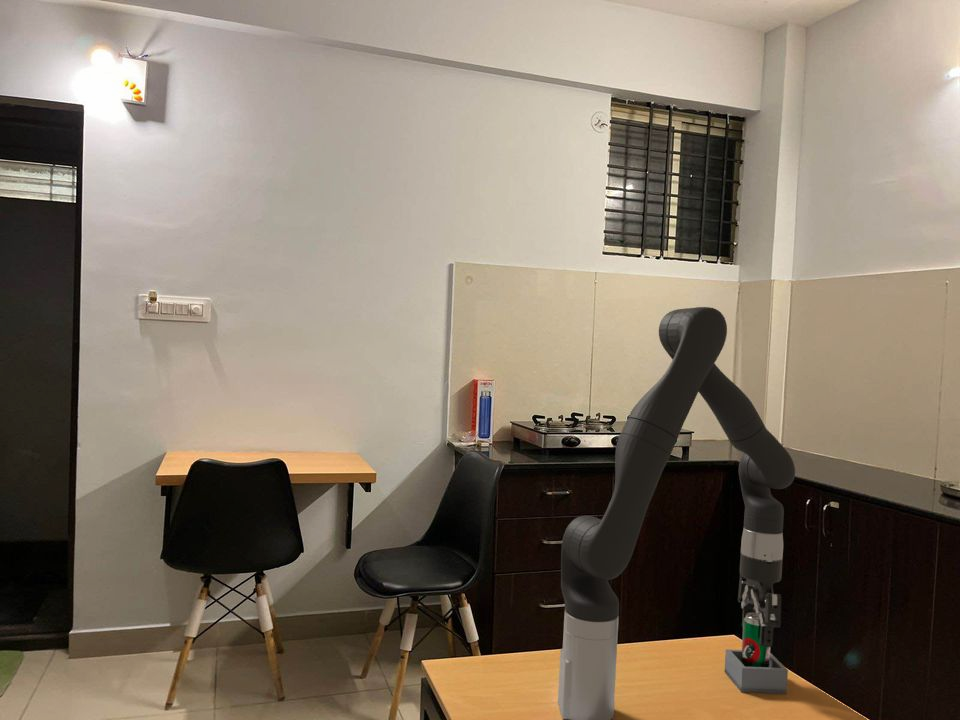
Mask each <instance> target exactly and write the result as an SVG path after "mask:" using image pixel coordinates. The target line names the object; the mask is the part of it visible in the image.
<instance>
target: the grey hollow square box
mask: <svg viewBox="0 0 960 720" xmlns="http://www.w3.org/2000/svg"><path fill="white" fill-rule="evenodd" d="M741 655H742V649H730V648H729V649H728V648H727V649H726V648H725V655H724V656H725V657H724V658H725V659H724V673H725V674H726V675H727V677H728V678H729V679H730V680H731V682H732V683H733V684H734V685H735V686H737V687H736V688H737V689H738V690H739V692H741V693H750V692H751V694H753V693H755V694H756V693H757V694H776V695H778V694H781V695H787V693H788V678H789V677H788V674H789V670H788V669H787V667H786V666H784V664H782V662H780V661H779V660H778V658H777V657H776V656H774V655H773V653H771V652H770V660H769V667H745V666H744V665H743V664H742V663H741Z"/></svg>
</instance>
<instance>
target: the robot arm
mask: <svg viewBox="0 0 960 720" xmlns="http://www.w3.org/2000/svg"><path fill="white" fill-rule="evenodd" d="M727 335H728V325H727V321H726V318H725V316H724V315H723V313H722V312H721V311H719V309H716V308H715V307H709V306H696V307H690V308H689V307H688V308H687V307H686V308H679V309H678V308H677V309H674V310H671V311H668V312H667V313H666V314H665V315H664V316H663V317H662V319H661V320H660V323H659V327H658V338H659V341H660V343H661V346H662V347H663V349H664V350H665V352H666V353H667V354H668V356H669V357H670V358H671V363H670V365H669V366H668V368H667V370H666V371H665V373H664V374H663V375H662V376H661V378H660V379H659V380H658V381H657V382H656V383H655V384H654V385H653V386H652V387H651V388H650V389H649V390H648V391H647V392H646V393H645V394H644V395H643V396H642V397H640V399H639V400H638V402H637V403H636V404H635V405H634V407H633V408H632V409H631V411H630V413H629V415H628V417H627V419H626V420H625V421H626V422H625V423H624V426H623V428H622V429H621V431H620V434H619V437H618V440H617V441H616V447H615V457H614V458H615V459H614V462H615V463H614V469H615V470H614V471H615V479H614V480H615V481H614V489H613V492H612V495H611V499H610V501H609V503H608V506H607V507H606V511H605V512H604V515H603V517H602V518H597V517H595V516H592V515H581V516H578V517H576V518H574V519H572V520H571V522H570V523H569V524H568V525H567V527H566V528H565V532H564V533H563V537H562V541H561V553H560V555H561V556H560V587H561V589H560V590H561V594H562V596H563V601H564V616H563V617H564V619H563V635H562V636H563V637H562V639H563V640H562V648H561V649H560V652H559V653H560V654H559V674H558V691H557V692H558V693H557V704H558V707H559V711H560V715H561V718H562V719H563V720H613V718H614V714H615V694H616V677H617V676H616V675H617V673H616V672H617V659H618V658H617V656H618V655H617V654H618V653H617V652H618V632H619V619H620V618H619V617H620V616H619V614H620V601H619V598H618V596H617V594H616V593H615V592H614V590H613V588H612V587H611V585H610V582H609V581H611V580H614V579H615V578H616V579H617V577H619V576H620V575H621V574H622V573H623V572H624V571H625V569H626V568H627V567H628V565H629V563H630V560H631V558H632V557H633V556H632V555H633V554H634V550H635V547H636V545H637V541H638V538H639V535H640V532H641V528H642V526H643V522H644V520H645V516H646V513H647V510H648V507H649V505H650V503H651V500H652V498H653V495H654V493H655V491H656V488H657V486H658V482H659V480H660V479H661V476H662V474H663V471H664V469H665V467H666V465H667V463H668V461H669V459H670V456H671V454H672V452H673V450H674V448H675V445H676V443H677V440H678V439H679V436H680V433H681V431H682V429H683V426H684V424H685V422H686V419H687V418H688V415H689V413H690V410H691V408H692V406H693V405H694V401H695V399H696V398H697V395H698V393H699V394H700V396H701V397H702V399H704V401H705V402H706V404H707V405H708V408H710V410H711V411H712V413H713V415H714V416H715V418H716V420H717V422H718V423H719V426H720V427H721V429H722V430H723V432H724V434H725V435H726V437H727V438H728V441H729V442H730V444H731V445H732V446H733V448H735V449H736V450H738V451H739V452H741V453H743V454H742V456H741V458H740V459H739V460H740V461H739V464H738V477H739V483H740V490H741V494H742V499H743V503H744V513H743V514H744V515H743V517H744V519H743V530H742V535H741V544H740V545H741V546H740V558H739V559H740V561H739V583H738V592H737V602H738V603H741V604H740V605H741V606H740V608H741V609H742V614H741V616H742V621H741V627H742V628H743V621H744V618H745V617H746V614H747V613H757V614H758V615H759V618H760V623H761V625H760V641H759V643H760V645H761V646H763V647H770V648H771V647H773V642H774V630H775V628H781V622H782V621H781V619H782V618H781V617H782V595H781V594H778V593H774V588H773V587H774V584H775V583H776V584H777V583H778V582H781V580H782V577H783V576H782V575H783V560H784V559H783V557H784V555H783V553H784V536H783V534H784V533H783V530H784V515H785V511H784V510H785V509H784V506H783V504H782V503H781V502H780V501H779V500H777V499H776V498H775V497H773V495H772V492H771V489H774V490H782V489H787V488H788V487H790V486H791V485H792V483H793V482H794V480H795V476H796V467H795V462H794V460H793V458H792V456H791V455H790V453H789V452H788V451H787V449H786V447H784V446H783V444H782V443H780V441H779V440H778V439H777V438H776V437H775V436H774V435H773V434H772V432H770V431H769V429H767V427H766V425H765V423H764V422H763V419H761V416H760V414H759V413H758V411H757V409H756V407H755V406H754V404H753V402H752V401H751V399H749V397H748V396H747V395H746V394H745V392H743V390H742V389H741V388H740V387H738V386H737V385H736V384H735V383H734V382H733V381H732V380H731V379H730V378H728V377H727V376H726V375H725V373H724V372H722V370H721V369H720V368H719V366H717V365H716V361H717V359H719V358H718V357H719V356H720V354H721V352H722V350H723V349H724V346H725V343H726V341H727V340H726V339H727ZM764 615H765V617H764Z"/></svg>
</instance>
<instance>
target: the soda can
mask: <svg viewBox="0 0 960 720" xmlns="http://www.w3.org/2000/svg"><path fill="white" fill-rule="evenodd" d="M764 617H765V615H764ZM760 625H761V623H760V618H759V615H758V614H757V613H756V612H755V613H747V614H746V617H745V618H744V621H743V627H742V640H741V642H742V643H741V650H742V655H741V663H742V664H743V665H744V666H745V667H769V660H770V653H771V647H763V646H761V645H760V643H759V641H760Z"/></svg>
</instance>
